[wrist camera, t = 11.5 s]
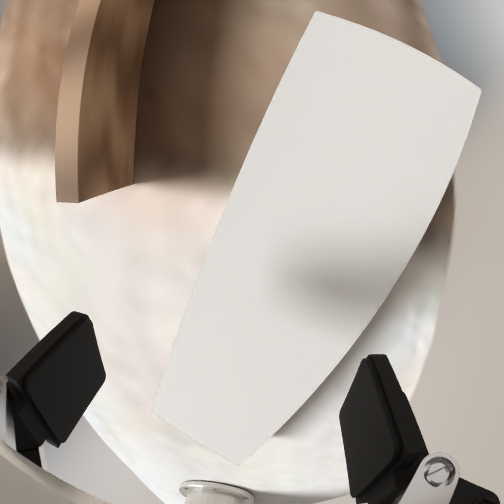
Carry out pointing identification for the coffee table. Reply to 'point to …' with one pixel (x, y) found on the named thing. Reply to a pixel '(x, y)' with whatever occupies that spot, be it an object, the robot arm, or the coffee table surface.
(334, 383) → the coffee table surface
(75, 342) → the robot arm
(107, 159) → the wooden corner bracket
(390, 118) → the decorative molding
